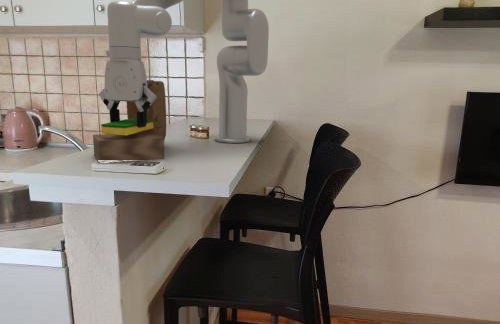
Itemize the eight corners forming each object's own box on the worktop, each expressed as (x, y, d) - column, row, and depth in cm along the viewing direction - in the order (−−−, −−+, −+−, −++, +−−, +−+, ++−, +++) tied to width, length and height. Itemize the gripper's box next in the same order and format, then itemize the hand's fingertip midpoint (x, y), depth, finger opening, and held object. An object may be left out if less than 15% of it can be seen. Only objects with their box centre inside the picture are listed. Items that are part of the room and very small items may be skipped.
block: (168, 146, 118) (167, 80, 114) (155, 150, 111) (154, 80, 107) (138, 143, 121) (136, 79, 117) (124, 147, 114) (121, 79, 110)
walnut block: (154, 153, 109) (153, 132, 108) (164, 160, 101) (163, 137, 99) (94, 157, 102) (92, 134, 100) (99, 165, 93) (98, 140, 92)
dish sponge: (100, 133, 94) (100, 124, 94) (130, 126, 107) (130, 118, 107) (126, 135, 93) (126, 125, 92) (154, 128, 106) (153, 119, 105)
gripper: (86, 54, 95) (90, 125, 98) (147, 54, 90) (150, 130, 94) (105, 55, 102) (109, 122, 105) (164, 56, 97) (165, 126, 101)
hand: (128, 125), depth 99 cm, fingers closed on dish sponge, 7 cm apart
